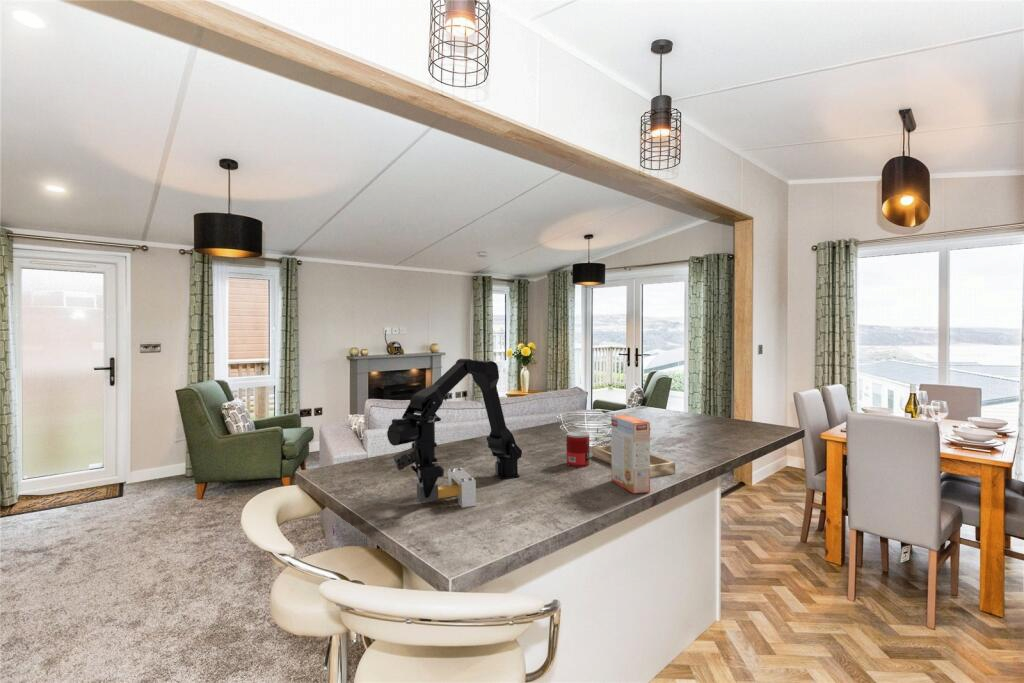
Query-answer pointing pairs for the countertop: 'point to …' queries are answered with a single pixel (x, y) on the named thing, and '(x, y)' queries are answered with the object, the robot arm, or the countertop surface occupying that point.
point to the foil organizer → (656, 463)
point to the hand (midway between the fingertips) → (425, 495)
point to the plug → (437, 492)
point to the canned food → (578, 449)
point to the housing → (463, 486)
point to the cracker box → (631, 453)
